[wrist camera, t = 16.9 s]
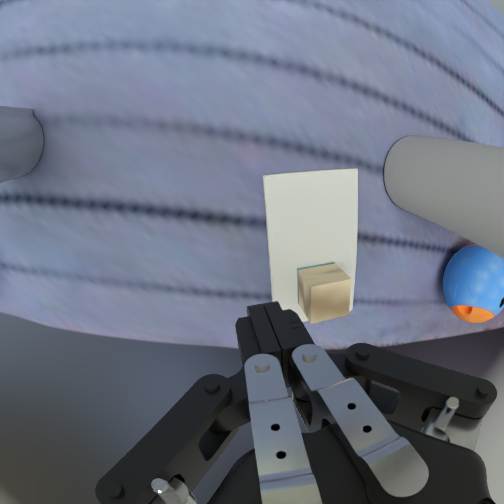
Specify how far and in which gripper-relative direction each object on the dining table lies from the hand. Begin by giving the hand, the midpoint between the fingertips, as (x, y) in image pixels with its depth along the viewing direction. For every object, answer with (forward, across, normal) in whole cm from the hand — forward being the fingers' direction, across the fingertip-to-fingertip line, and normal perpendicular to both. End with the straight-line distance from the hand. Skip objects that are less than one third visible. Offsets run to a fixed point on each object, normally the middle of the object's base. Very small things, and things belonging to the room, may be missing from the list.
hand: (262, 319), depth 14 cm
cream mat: (+27, -13, +9) cm, 31 cm away
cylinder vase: (+27, -31, -2) cm, 41 cm away
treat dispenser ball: (+27, -46, +18) cm, 56 cm away
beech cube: (+20, -13, +14) cm, 28 cm away
